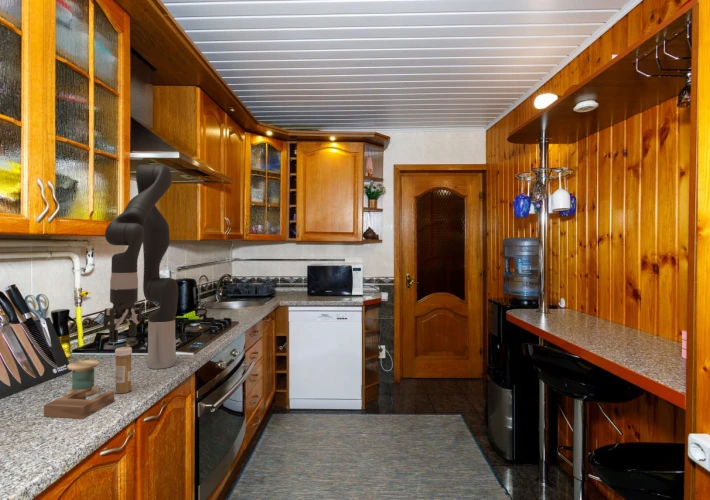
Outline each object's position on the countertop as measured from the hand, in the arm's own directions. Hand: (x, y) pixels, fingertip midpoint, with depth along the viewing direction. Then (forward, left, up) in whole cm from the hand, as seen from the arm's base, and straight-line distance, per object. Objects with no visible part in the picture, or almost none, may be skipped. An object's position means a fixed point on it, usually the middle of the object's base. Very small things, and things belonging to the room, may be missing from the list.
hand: (123, 339), depth 126 cm
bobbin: (+3, -11, -16) cm, 20 cm away
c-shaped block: (+14, -2, -16) cm, 22 cm away
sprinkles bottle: (0, 0, -17) cm, 17 cm away
